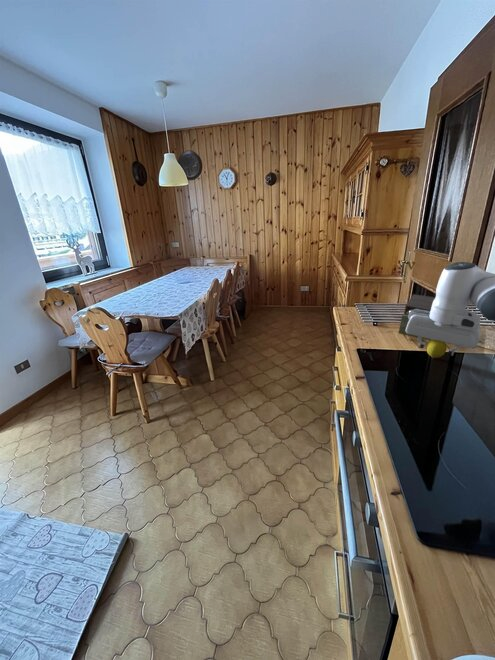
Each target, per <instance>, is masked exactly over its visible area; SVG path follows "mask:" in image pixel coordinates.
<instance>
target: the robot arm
mask: <svg viewBox="0 0 495 660" xmlns="http://www.w3.org/2000/svg"><path fill="white" fill-rule="evenodd" d="M468 306H475V307H476V308H477V309H478V311H479V313H481V315H482V316H483V317H484V318H485V319H487V320H489V321H493V322H495V273H494V272H493V273H492V272H489V271H486V270H484V269H482V268H481V267H479V266H478V265H476V263H474V262H470V261H459V262H453V263H449V264H448V265H447V266H445V267H444V268H443V270H442V271H441V274H440V276H439V278H438V282H437V286H436V289H435V299H434V301H433V303H432V307H431V311H428V310H420V309H413V310H411V311H410V312H409V314H408V318H409V322H408V324H407V327H406V332H407V334H411V335H415V336H418V337H416V339H417V342H418V348H419V349H424V348H425V345H426V342H425V341H423V339H422V337H424V338H428V339H433V340H437V341H442V342H446V344H451V345H454V346H453V348H451V347H450V348H448V352H447V356H451V357H452V356H454V353H456V352H457V351H458V350H460V349H461V347H463V348H464V347H465V348H468V349H475V348H477V347H478V346H479V341H480V336H481V325H480V324H481V320H482V319H481V316H480V315H479V314H477V313H475V312H473V311H471V310H468V309H467V307H468Z"/></svg>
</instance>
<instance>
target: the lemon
mask: <svg viewBox="0 0 495 660" xmlns="http://www.w3.org/2000/svg"><path fill="white" fill-rule="evenodd" d="M428 341H429V342H428V343H427V344H426V353H427V354H428V355H429V356H430V357H431V358H432V359H438V358H441V357H443V356H444V355H445V354H446V352H447V347H448V344H447V343H446V342H442V341H437V340H433V339H432V340H428Z"/></svg>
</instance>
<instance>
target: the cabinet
mask: <svg viewBox="0 0 495 660" xmlns="http://www.w3.org/2000/svg"><path fill="white" fill-rule="evenodd" d="M435 297H436V296H435ZM435 297H434V296H428V295H422V294H415V293H414V294H412V296H411V297H410V299H409V300H408V302H407V303H406V304H405V307H404V310H403V311H404V313H403V314H404V315H406V313H407V311H408V310H409V308H411V309H420V310H428V311H431V307H432V303H433V301H434V299H435Z"/></svg>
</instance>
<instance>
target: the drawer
mask: <svg viewBox="0 0 495 660" xmlns="http://www.w3.org/2000/svg"><path fill="white" fill-rule="evenodd" d="M411 310H413V309H411V308H409V310H408V311H407V313H406V315H404V313H403V314H401V317H400V318H401V319H400V323H399V328H398V333H397V334H399V335H404V336H409V337H412V338H417V337H418V336H415V335H411V334H407V332H406V327H407V324H408V322H409V318H408V314H409V312H410V311H411ZM422 340H424V341H425V340H426V341H430V340H432V339H428V338H424V337H422Z"/></svg>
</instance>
